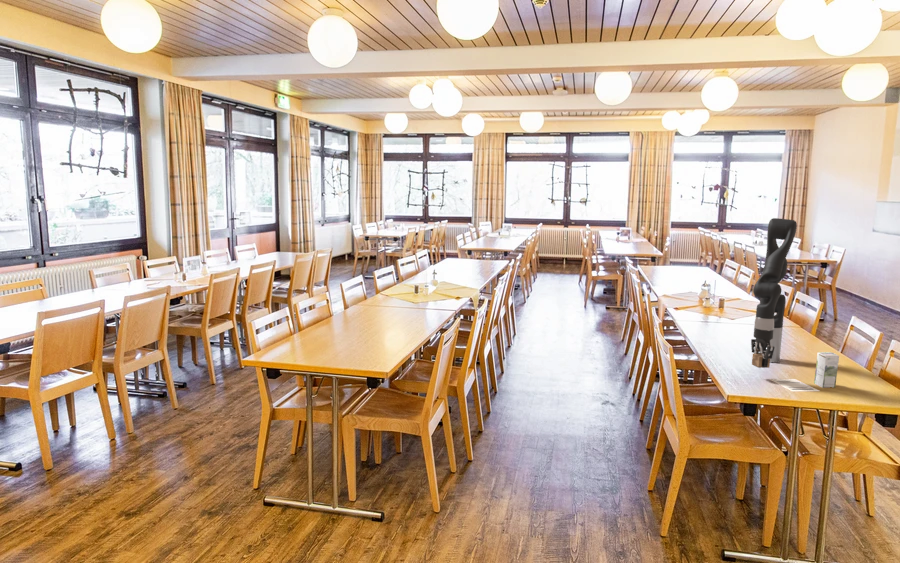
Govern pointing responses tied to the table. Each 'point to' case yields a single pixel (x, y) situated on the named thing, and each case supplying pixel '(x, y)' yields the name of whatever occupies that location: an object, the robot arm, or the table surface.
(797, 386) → the letter
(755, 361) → the walnut block
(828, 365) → the syrup box
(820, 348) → the table surface
